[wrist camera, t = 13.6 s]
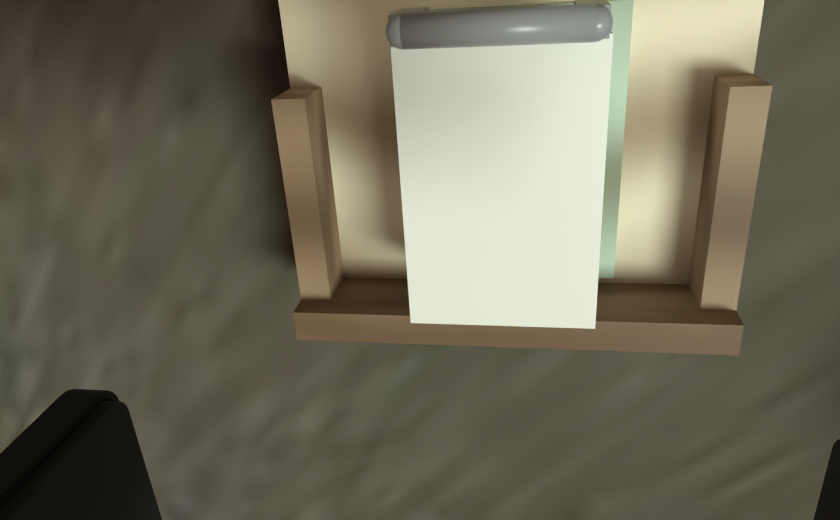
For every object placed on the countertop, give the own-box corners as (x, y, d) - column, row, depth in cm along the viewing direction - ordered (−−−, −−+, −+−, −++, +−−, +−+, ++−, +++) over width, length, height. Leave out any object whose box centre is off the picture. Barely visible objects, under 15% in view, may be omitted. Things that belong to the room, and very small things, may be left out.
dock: (286, -123, 24) (221, -141, 19) (764, -165, 21) (832, -198, 16) (335, 276, 31) (297, 339, 26) (703, 283, 28) (738, 355, 23)
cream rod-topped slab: (416, -3, 22) (374, 15, 17) (600, -13, 21) (622, 3, 16) (430, 262, 27) (402, 349, 21) (585, 264, 26) (599, 356, 20)
